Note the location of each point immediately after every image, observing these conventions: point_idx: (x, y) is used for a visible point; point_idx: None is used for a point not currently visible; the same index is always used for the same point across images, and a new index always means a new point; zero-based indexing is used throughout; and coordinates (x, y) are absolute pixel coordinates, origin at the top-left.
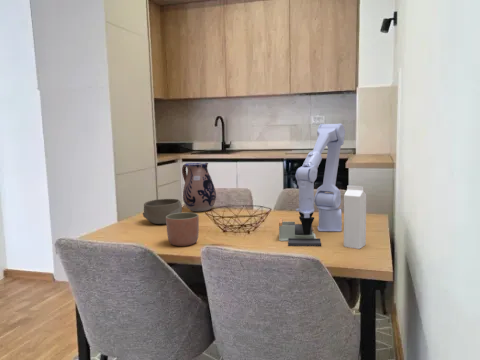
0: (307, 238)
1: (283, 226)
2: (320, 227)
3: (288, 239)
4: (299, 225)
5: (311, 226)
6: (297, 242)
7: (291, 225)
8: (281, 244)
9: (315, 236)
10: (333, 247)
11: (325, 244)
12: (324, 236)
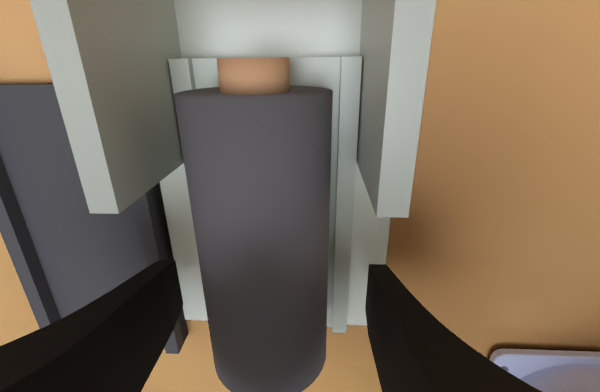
0: None
1: (40, 2)
2: (545, 384)
3: None
4: (219, 268)
5: (223, 381)
6: (60, 176)
7: (200, 154)
8: (6, 7)
9: None
10: None
11: None
12: (336, 368)
